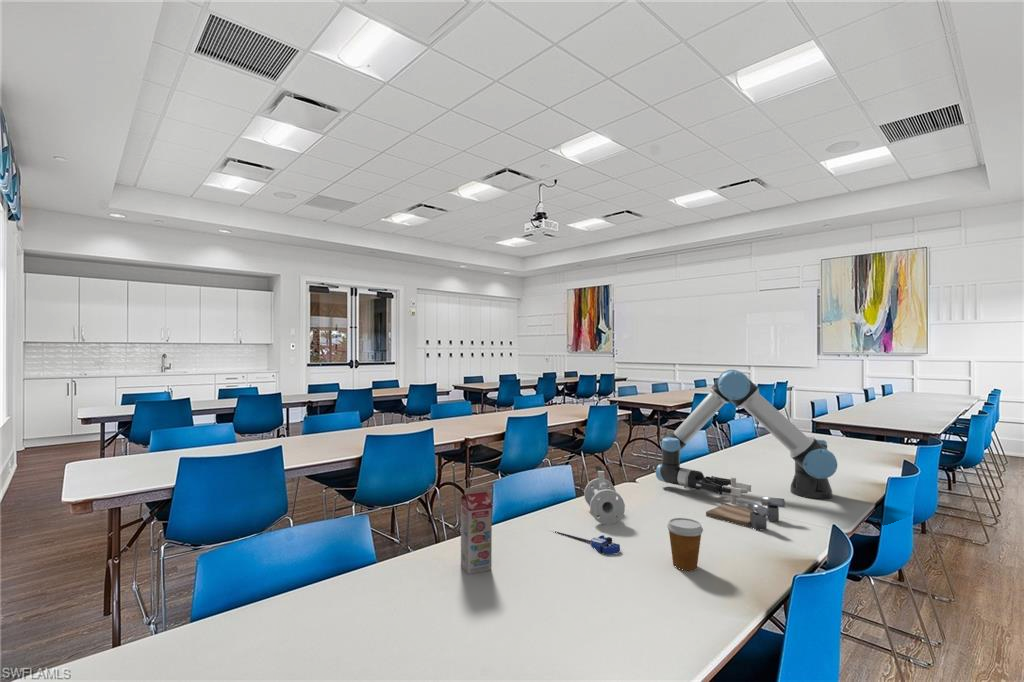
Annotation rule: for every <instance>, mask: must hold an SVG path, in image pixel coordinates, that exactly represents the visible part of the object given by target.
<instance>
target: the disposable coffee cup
mask: <svg viewBox="0 0 1024 682" xmlns="http://www.w3.org/2000/svg"><path fill="white" fill-rule="evenodd" d="M666 527H667V530H668V534H669V541H670V550H671V557H672V558H671V559H672V566H673V567H674V566H676V567H677V568H676V567H675V568H676V569H678V568H680V569H683V570H682V571H684V570H693V571H695V570H694V569H696V568H698V562H699V553H700V548H701V547H700V546H701V538H702V534H703V532H704V528H703V526H702V523H701V522H699V521H698V520H696V519H692V518H687V517H673V518H670V519H669V520H668V523H667V524H666ZM680 569H679V570H680ZM696 570H697V569H696Z"/></svg>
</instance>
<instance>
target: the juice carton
mask: <svg viewBox="0 0 1024 682" xmlns="http://www.w3.org/2000/svg"><path fill="white" fill-rule="evenodd" d="M492 503H493V500H492V499H491V497H490V495H489V493H488V485H485V486H476V487H467V488H464V494H463V495H462V496H461V497H460V565H461V567H462V568H463V570H464V571H465V572H466V574H467V575H472V574H473V575H474V574H477V573H483V571H484V572H489V571H492V546H493V545H492V541H493V540H492V528H493V527H492V523H493V522H492V521H493V518H492V517H493V515H492V510H493V509H492V508H493V507H492V506H493V504H492ZM488 570H489V571H488Z"/></svg>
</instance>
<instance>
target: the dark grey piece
mask: <svg viewBox="0 0 1024 682" xmlns="http://www.w3.org/2000/svg"><path fill="white" fill-rule="evenodd" d="M747 509H749V510H751V511H753V512H750V526H749V528H751V527H752V528H751V529H753V528H754V529H756V530H755V531H761V530H760V529H767V528H768V527H767V524H768V523H767V520H768V518H767V516H768V515H769V510H768V509H767V507H766V506H762V504H759V503H756V502H754V501H749V502H748V503H747ZM754 529H753V530H754Z"/></svg>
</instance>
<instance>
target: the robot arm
mask: <svg viewBox="0 0 1024 682" xmlns="http://www.w3.org/2000/svg"><path fill="white" fill-rule="evenodd" d="M730 402H731V403H732V404H733V405H734V406H735V407H736V408H743V410H745V411H746V412H747V413H748V414H749V415H751V416H752V417H753V419H755V420H756V421H757V422H758V423H759V424H760V425H761V426H762V427H763V428H765V429H766V431H767V432H769V433H770V434H771V435H772V436H773V437H774V438H775V439H777V441H779V442H780V443H781V444H782V445H783V446H784V447H785V448H786V449H787V450H789V456H790V458H792V460H794V476H793V478H792V481H791V483H790V493H792V494H793V493H795V494H794V495H796V494H797V496H799V495H801V496H800V497H803V496H805V497H804V498H808V497H810V498H809V499H816V498H819V499H820V500H824V499H825V498H826V500H827V499H832V498H833V489H832V487H831V485H830V481H829V479H828V478H830V477H832V476H833V475H834V474H835V473H836V472H837V469H838V461H837V458H836V456H835V454H834V453H833V452H831V451H830V450H829V449H828V444H827V443H828V442H827V441H826V440H824V439H818V438H817V439H816V438H815V437H814V436H807V435H806V434H805V433H803V431H801V429H800V428H798V427H797V426H796V425H795V424H793V422H791V421H790V420H789V419H788V418H787V417H786V416H785V415H784V414H782V412H780V411H779V410H778V409H777V408H776V407H774V405H773V404H772V403H770V401H768V400H767V399H766V398H765V397H764V396H763V395H761V394H760V390H759V387H758V386H757V385H756V384H755V383H754V382H753V381H752V380H750V379H749V377H748V376H747V375H746V374H745V373H743V372H742V371H740V370H737V369H728V370H725V371H723V372H722V373H721V374H720V375H719V377H718V378H717V379H716V381H715V382H714V384H713V385H712V386H711V388H710V392H709V393H708V394H707V395H706V396H705V397H704V398H703V400H702V401H701V402H700V403H699V404H698V405H697V406H696V408H695V409H694V410H692V412H691V413H690V414H689V415H688V416H687V417H686V418H685V420H683V422H682V423H680V425H679V426H678V427H677V428H676V429H675V430H674V431H673V432H672V434H670V436H669V437H663V438H662V440H661V463H660V464H658V465H657V467H656V470H655V477H656V478H657V480H658V481H661V482H664V483H665V484H671V485H674V486H675V485H676V486H680V487H683V488H685V489H687V488H690V489H692V490H693V489H694V490H698V491H699V490H701V489H702V490H704V491H705V490H706V491H708V492H712V493H715V494H719V495H723V494H728V495H730V496H731V495H735V496H736V497H741V494H742V493H741V489H747V491H748V492H747V493H752V484H750V483H743V482H738V481H736V488H734V487H729V486H728V485H731V478H724V477H718V476H713V475H711V476H706V475H705V476H704V473H703V472H702V471H699V470H695V469H694V470H693V469H689V468H684V467H681V461H680V460H681V458H680V457H681V451H682V450H683V449H684V448H685V446H686V445H687V444H688V443H689V442H690V441H691V440H692V439H693V438H694V437H695V436H696V434H698V433H699V431H700V430H702V428H703V427H704V426H705V425H706V424H708V422H709V421H710V420H711V418H712V417H713V416H715V414H716V413H717V412H718V411H719V410H720V409H721V408H722V407H723V406H724V404H729V403H730ZM738 488H740V489H738ZM722 492H723V493H722ZM819 499H818V500H819Z"/></svg>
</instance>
